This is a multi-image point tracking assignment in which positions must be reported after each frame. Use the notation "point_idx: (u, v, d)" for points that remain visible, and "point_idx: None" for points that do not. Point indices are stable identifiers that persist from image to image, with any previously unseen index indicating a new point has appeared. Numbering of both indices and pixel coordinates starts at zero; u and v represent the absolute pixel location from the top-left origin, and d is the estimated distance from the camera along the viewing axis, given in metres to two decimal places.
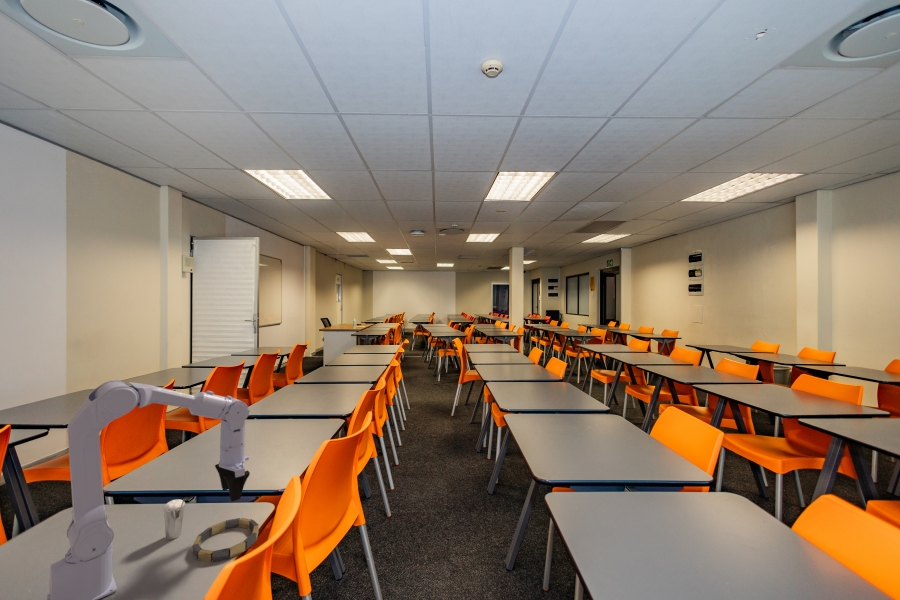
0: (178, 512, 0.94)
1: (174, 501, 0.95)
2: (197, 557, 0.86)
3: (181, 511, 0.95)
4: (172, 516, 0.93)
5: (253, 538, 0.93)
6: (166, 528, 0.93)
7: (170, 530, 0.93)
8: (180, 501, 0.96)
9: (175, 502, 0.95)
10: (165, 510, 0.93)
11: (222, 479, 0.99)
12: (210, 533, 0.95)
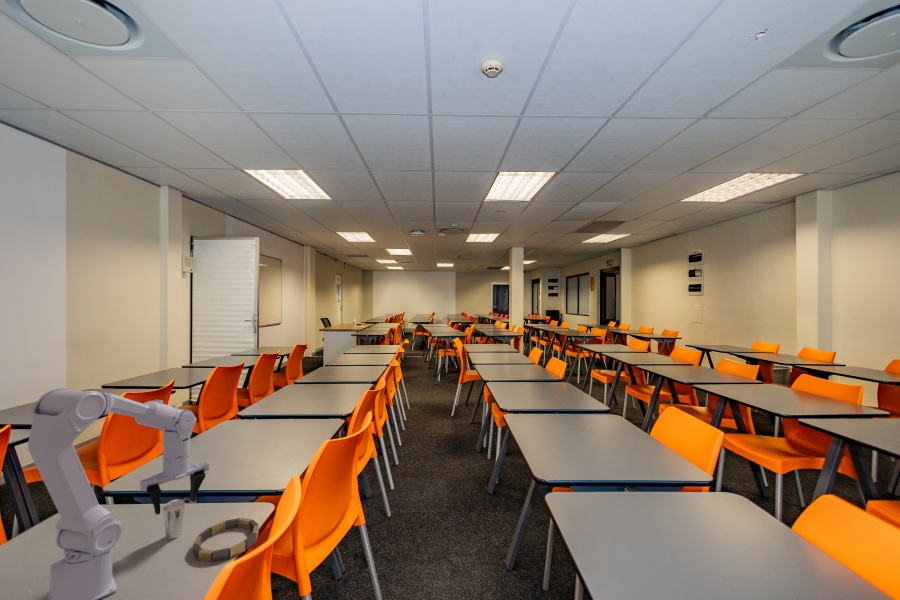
0: (178, 512, 0.94)
1: (174, 501, 0.95)
2: (197, 557, 0.86)
3: (181, 511, 0.95)
4: (172, 516, 0.93)
5: (253, 538, 0.93)
6: (166, 528, 0.93)
7: (170, 530, 0.93)
8: (180, 501, 0.96)
9: (175, 502, 0.95)
10: (165, 510, 0.93)
11: (191, 487, 0.99)
12: (210, 533, 0.95)
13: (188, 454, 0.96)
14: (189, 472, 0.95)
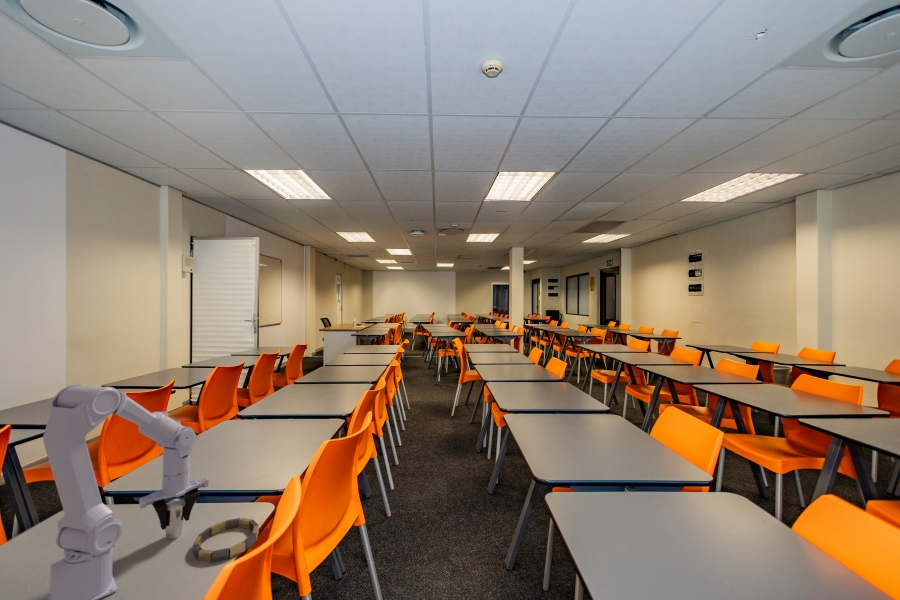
0: (179, 512, 0.94)
1: (175, 501, 0.95)
2: (197, 557, 0.86)
3: (182, 511, 0.95)
4: (173, 515, 0.93)
5: (253, 538, 0.93)
6: (166, 528, 0.93)
7: (170, 530, 0.93)
8: (181, 501, 0.96)
9: (176, 501, 0.95)
10: None
11: (185, 505, 0.98)
12: (210, 533, 0.95)
13: (188, 471, 0.96)
14: (189, 489, 0.95)
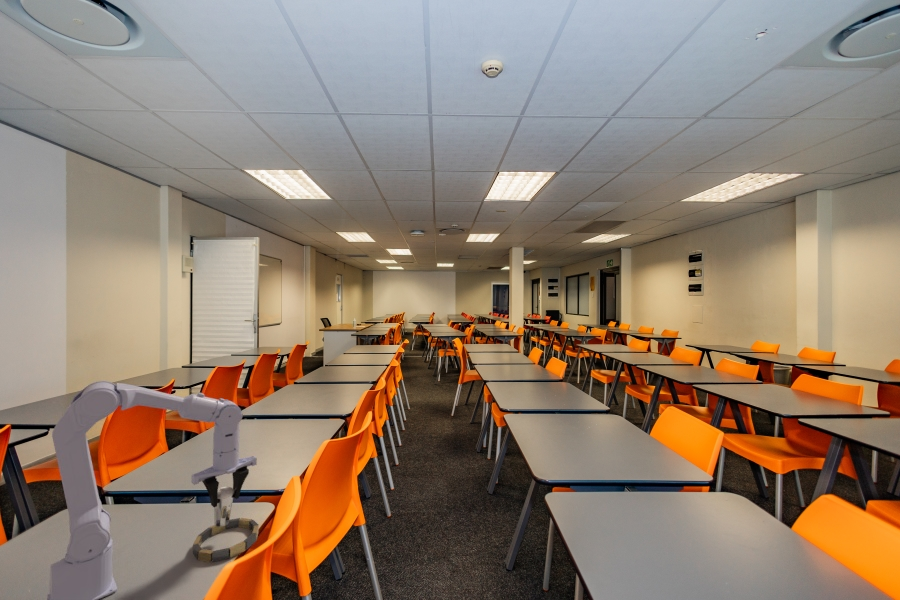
0: (230, 499, 0.93)
1: (224, 489, 0.94)
2: (197, 557, 0.86)
3: (232, 498, 0.94)
4: (225, 503, 0.92)
5: (253, 538, 0.93)
6: (217, 515, 0.92)
7: (221, 517, 0.92)
8: (230, 488, 0.94)
9: (226, 490, 0.94)
10: (218, 498, 0.91)
11: (234, 483, 0.96)
12: (210, 533, 0.95)
13: (238, 448, 0.94)
14: (239, 466, 0.94)
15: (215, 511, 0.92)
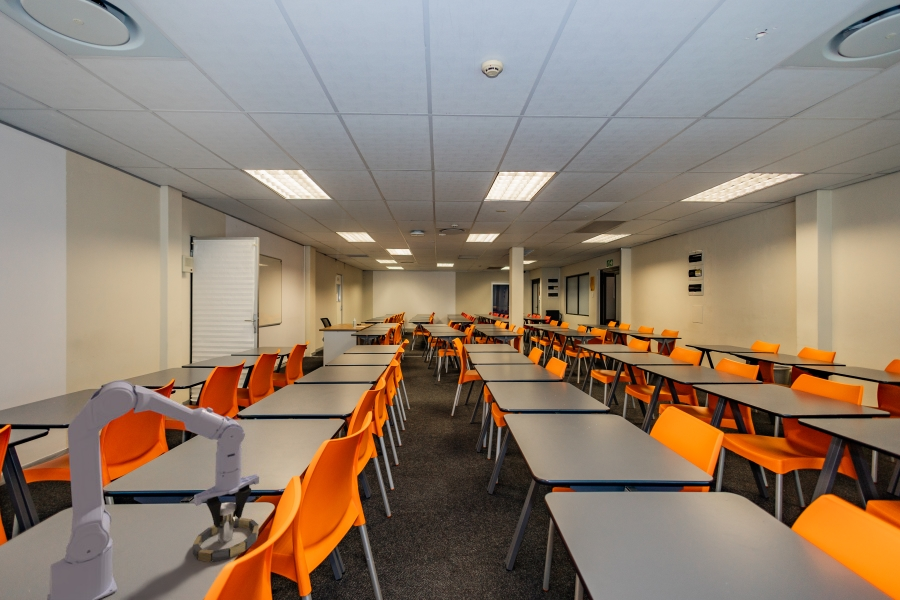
0: (232, 515, 0.93)
1: (226, 504, 0.94)
2: (197, 557, 0.86)
3: (234, 514, 0.94)
4: (227, 519, 0.92)
5: (253, 538, 0.93)
6: (220, 532, 0.92)
7: (225, 533, 0.92)
8: (232, 504, 0.94)
9: (228, 505, 0.94)
10: (220, 514, 0.91)
11: (236, 502, 0.96)
12: (210, 533, 0.95)
13: (240, 467, 0.94)
14: (241, 486, 0.93)
15: (218, 527, 0.92)
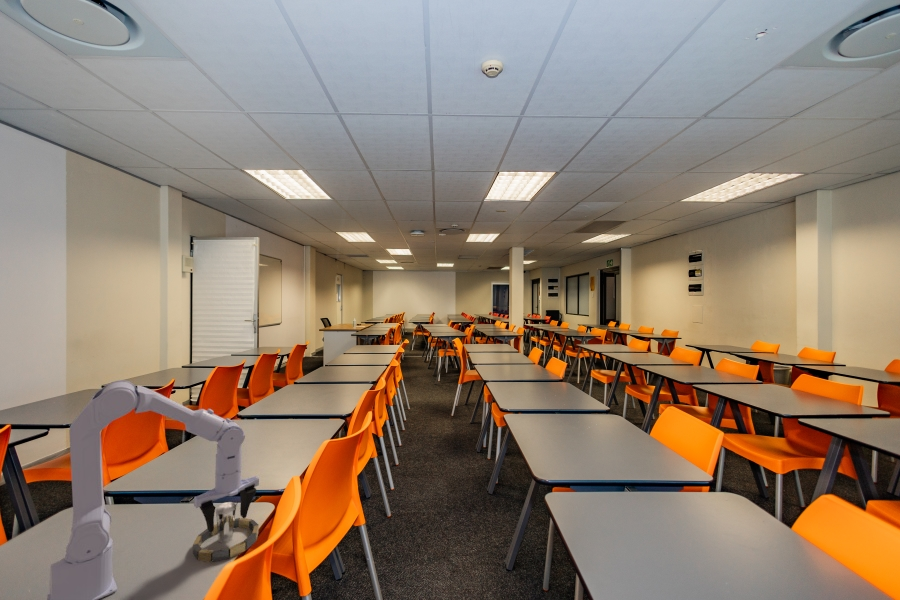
0: (232, 514, 0.94)
1: (226, 504, 0.94)
2: (197, 557, 0.86)
3: (234, 513, 0.94)
4: (227, 518, 0.92)
5: (253, 538, 0.93)
6: (220, 531, 0.92)
7: (225, 533, 0.92)
8: (232, 503, 0.95)
9: (227, 505, 0.94)
10: (220, 513, 0.92)
11: (241, 502, 0.97)
12: (210, 533, 0.95)
13: (240, 469, 0.94)
14: (241, 488, 0.93)
15: (218, 527, 0.93)
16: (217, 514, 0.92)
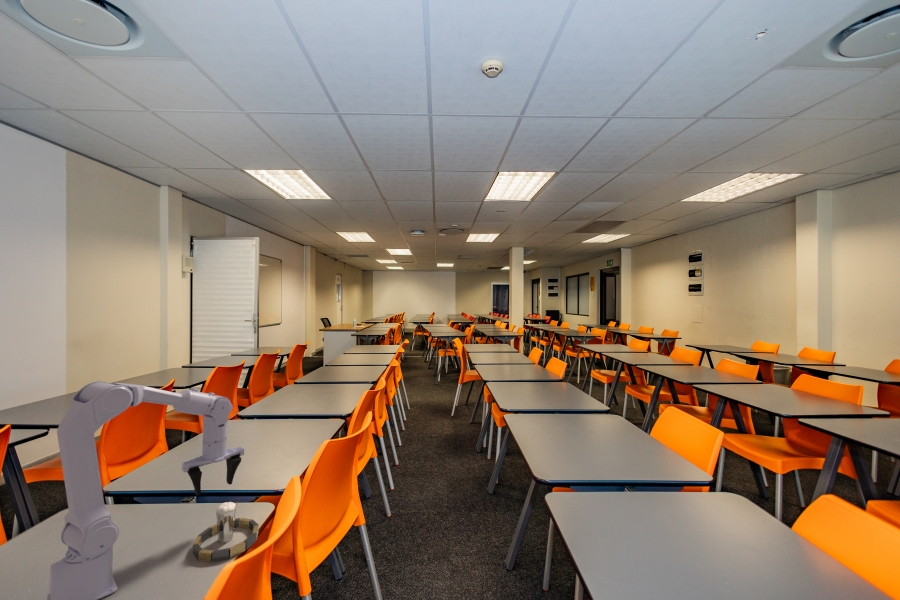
0: (232, 514, 0.94)
1: (226, 504, 0.94)
2: (197, 557, 0.86)
3: (234, 513, 0.94)
4: (227, 518, 0.93)
5: (253, 538, 0.93)
6: (220, 531, 0.92)
7: (225, 533, 0.93)
8: (232, 503, 0.95)
9: (228, 504, 0.94)
10: (220, 513, 0.92)
11: (228, 470, 1.03)
12: (210, 533, 0.95)
13: (226, 439, 1.00)
14: (227, 456, 1.00)
15: (218, 527, 0.93)
16: (217, 514, 0.92)
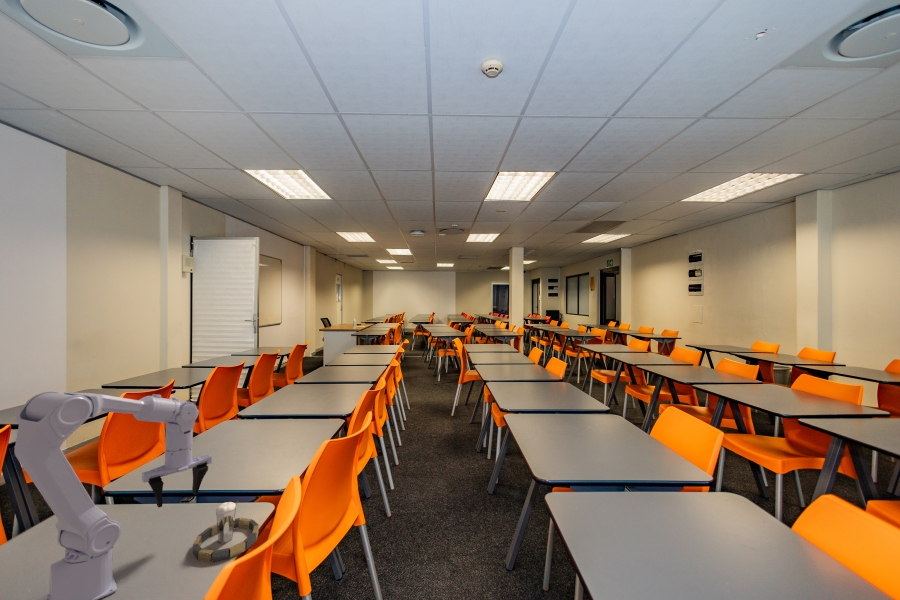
0: (232, 514, 0.94)
1: (226, 504, 0.94)
2: (197, 557, 0.86)
3: (234, 513, 0.94)
4: (227, 518, 0.93)
5: (253, 538, 0.93)
6: (220, 531, 0.92)
7: (225, 533, 0.93)
8: (232, 503, 0.95)
9: (228, 504, 0.94)
10: (220, 513, 0.92)
11: (194, 480, 0.98)
12: (210, 533, 0.95)
13: (191, 446, 0.94)
14: (192, 465, 0.94)
15: (218, 527, 0.93)
16: (217, 514, 0.92)
